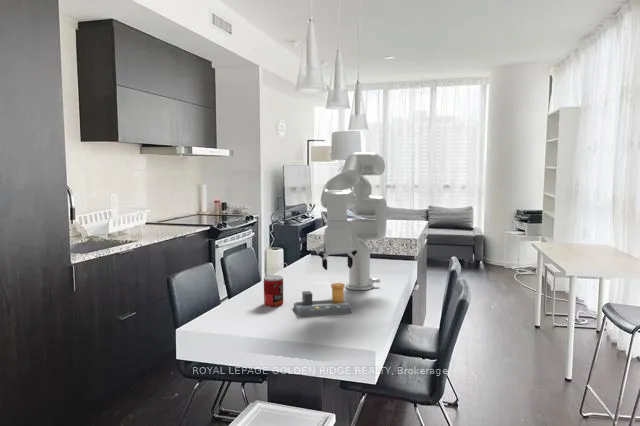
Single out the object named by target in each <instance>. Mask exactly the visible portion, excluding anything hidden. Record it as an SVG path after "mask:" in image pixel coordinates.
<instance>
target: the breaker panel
mask: <svg viewBox="0 0 640 426" xmlns="http://www.w3.org/2000/svg"><path fill="white" fill-rule="evenodd" d="M293 309H294V310H295V312H296V314H297V315H298V317H300V318H301V317H313V316H316V317H317V316H327V315H329V316H330V315H338V314H339V315H342V314H352V312H353V310H352V309H353V308H352V306H351V305H350V304H349V302H346V301H345V300H344V303H337V304H332V298H329V299H327V298H326V299H315V300H313V299H312V305H309V306H303V304H302V300H301V301H300V300H299V301H295V302H293Z"/></svg>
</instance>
